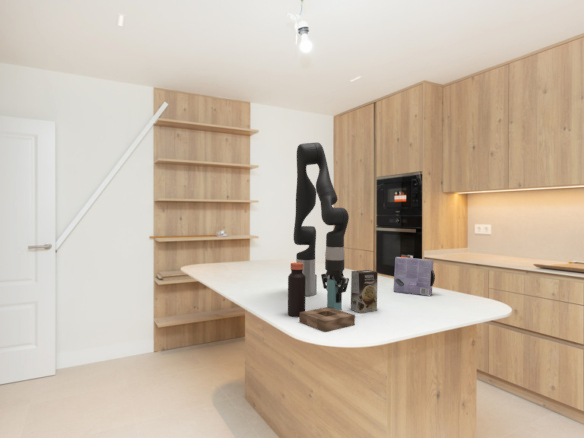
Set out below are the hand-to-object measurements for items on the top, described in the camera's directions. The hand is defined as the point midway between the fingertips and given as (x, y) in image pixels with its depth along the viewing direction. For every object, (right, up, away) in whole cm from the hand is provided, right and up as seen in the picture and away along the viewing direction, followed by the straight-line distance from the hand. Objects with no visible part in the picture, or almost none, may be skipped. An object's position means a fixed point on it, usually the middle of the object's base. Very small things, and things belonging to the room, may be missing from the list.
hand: (334, 301), depth 148 cm
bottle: (-15, -5, -2) cm, 16 cm away
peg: (0, -3, 0) cm, 3 cm away
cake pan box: (+44, -5, +39) cm, 59 cm away
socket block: (-4, -5, -13) cm, 15 cm away
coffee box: (+13, -5, +6) cm, 15 cm away
